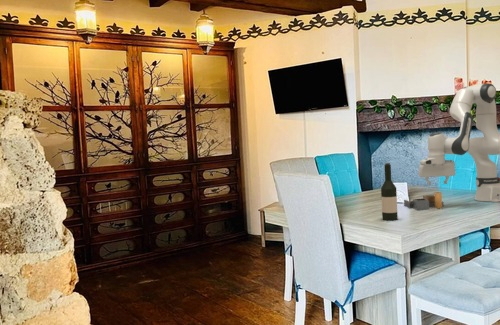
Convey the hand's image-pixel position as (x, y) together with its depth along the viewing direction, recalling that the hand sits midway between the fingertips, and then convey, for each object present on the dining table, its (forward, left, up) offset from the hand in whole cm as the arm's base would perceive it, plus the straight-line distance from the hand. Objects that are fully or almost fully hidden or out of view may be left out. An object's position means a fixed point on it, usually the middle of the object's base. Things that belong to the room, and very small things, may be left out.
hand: (437, 184), depth 255 cm
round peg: (0, 0, -14) cm, 14 cm away
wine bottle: (+35, +23, -14) cm, 44 cm away
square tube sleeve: (+10, -1, -14) cm, 17 cm away
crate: (+1, -10, -13) cm, 17 cm away
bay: (+5, -10, -14) cm, 18 cm away
